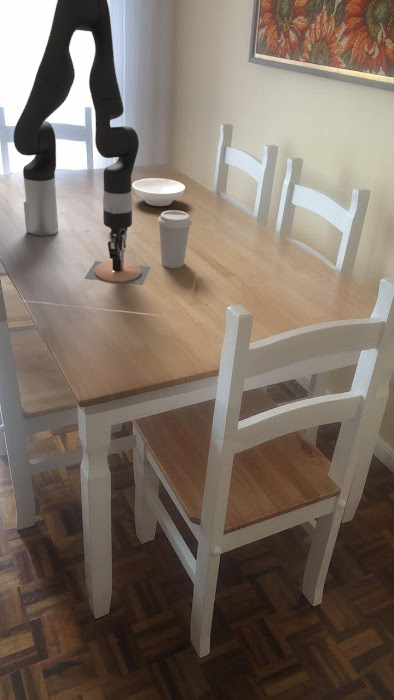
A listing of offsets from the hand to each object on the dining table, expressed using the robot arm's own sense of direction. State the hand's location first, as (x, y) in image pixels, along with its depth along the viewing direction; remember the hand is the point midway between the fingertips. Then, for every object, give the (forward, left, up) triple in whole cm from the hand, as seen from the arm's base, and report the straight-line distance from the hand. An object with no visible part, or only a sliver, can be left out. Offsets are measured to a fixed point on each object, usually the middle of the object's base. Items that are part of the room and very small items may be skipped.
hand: (118, 267), depth 159 cm
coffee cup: (+14, +10, -2) cm, 17 cm away
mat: (0, 0, -2) cm, 2 cm away
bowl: (+1, +65, -2) cm, 65 cm away
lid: (0, 0, -1) cm, 1 cm away
